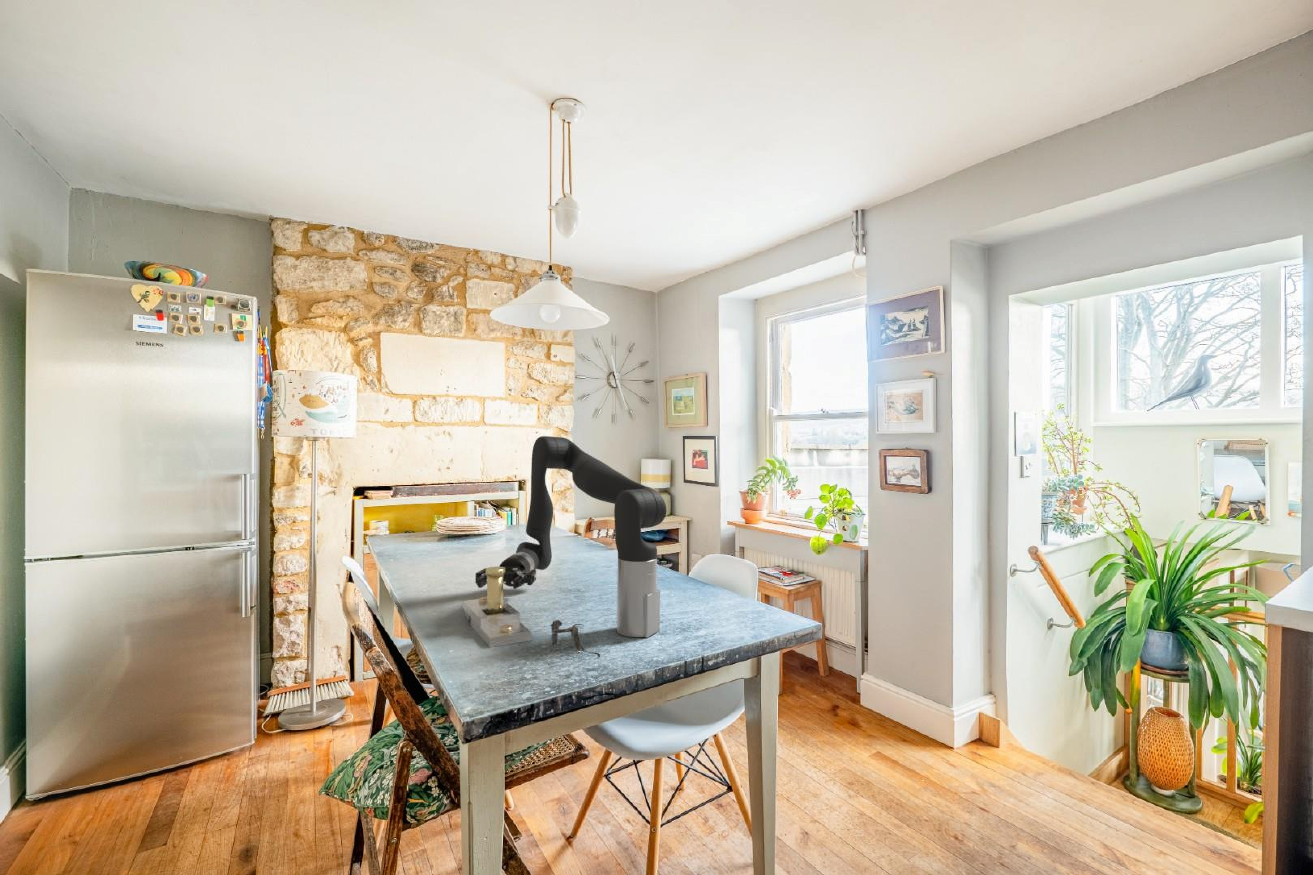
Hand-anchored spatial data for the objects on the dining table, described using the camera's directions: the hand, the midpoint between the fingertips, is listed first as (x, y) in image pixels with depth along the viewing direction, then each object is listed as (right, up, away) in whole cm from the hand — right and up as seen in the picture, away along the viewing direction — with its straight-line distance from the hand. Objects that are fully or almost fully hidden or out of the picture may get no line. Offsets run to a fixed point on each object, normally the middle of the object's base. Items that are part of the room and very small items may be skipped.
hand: (497, 584), depth 138 cm
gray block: (0, -10, -1) cm, 10 cm away
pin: (0, -10, -1) cm, 10 cm away
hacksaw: (+20, -11, -9) cm, 24 cm away
